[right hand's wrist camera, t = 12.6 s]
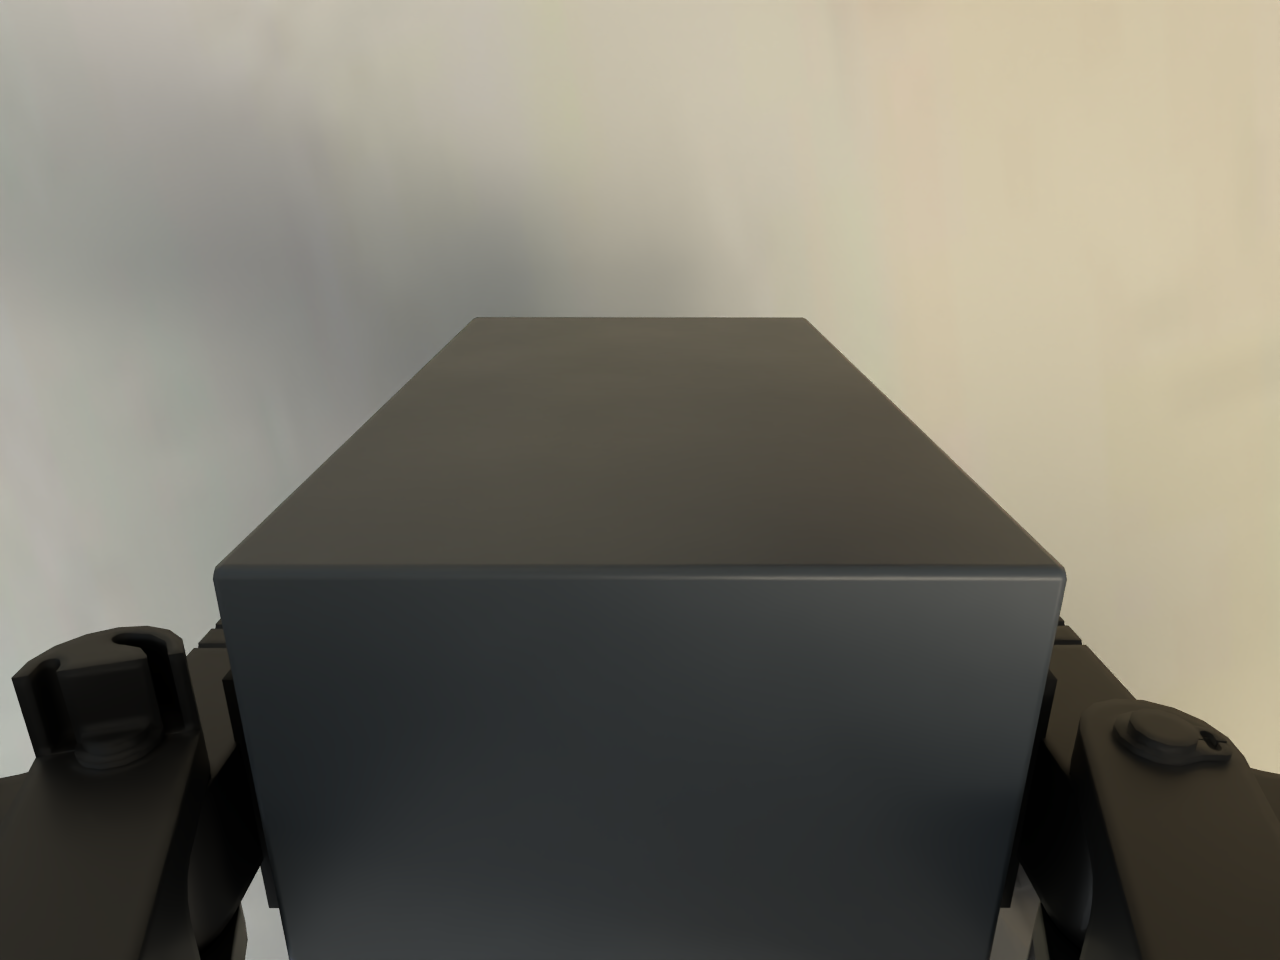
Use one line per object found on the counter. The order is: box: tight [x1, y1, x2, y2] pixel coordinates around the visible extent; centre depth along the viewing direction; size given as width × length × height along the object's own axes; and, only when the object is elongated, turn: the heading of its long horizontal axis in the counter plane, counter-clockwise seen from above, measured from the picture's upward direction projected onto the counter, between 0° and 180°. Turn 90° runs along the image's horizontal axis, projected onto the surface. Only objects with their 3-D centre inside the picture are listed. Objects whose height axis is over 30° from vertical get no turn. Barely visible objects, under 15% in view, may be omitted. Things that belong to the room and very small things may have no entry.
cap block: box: [213, 317, 1067, 960], centre depth 12 cm, size 6×6×10 cm
